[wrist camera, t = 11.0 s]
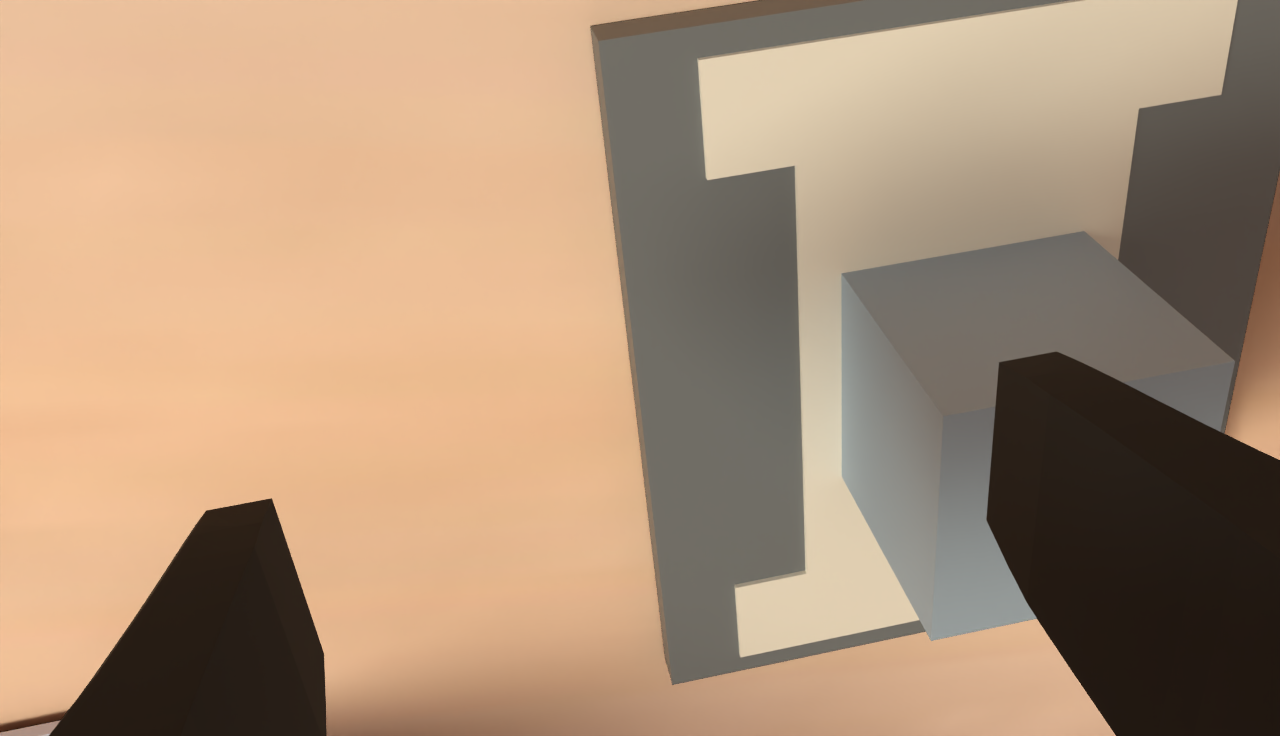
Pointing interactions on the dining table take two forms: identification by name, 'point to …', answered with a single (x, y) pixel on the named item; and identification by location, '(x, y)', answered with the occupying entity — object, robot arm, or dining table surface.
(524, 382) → the dining table surface
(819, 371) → the letter card
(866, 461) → the slate cube
